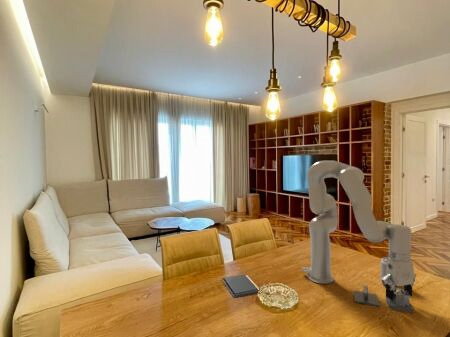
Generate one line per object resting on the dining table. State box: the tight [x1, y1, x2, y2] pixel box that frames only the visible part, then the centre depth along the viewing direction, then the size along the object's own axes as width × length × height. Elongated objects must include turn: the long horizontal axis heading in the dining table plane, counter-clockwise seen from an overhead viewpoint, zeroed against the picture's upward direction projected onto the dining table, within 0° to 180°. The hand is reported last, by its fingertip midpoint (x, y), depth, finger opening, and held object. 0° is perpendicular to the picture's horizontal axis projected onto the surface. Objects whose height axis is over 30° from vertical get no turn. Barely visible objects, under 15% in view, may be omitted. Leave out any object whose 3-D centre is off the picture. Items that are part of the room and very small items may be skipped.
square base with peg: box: [385, 290, 414, 314], centre depth 104 cm, size 8×8×6 cm
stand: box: [353, 285, 380, 308], centre depth 109 cm, size 9×9×6 cm
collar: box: [390, 286, 411, 307], centre depth 104 cm, size 7×7×4 cm
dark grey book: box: [220, 274, 260, 299], centre depth 123 cm, size 20×2×15 cm
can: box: [379, 256, 392, 286], centre depth 122 cm, size 8×8×12 cm
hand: (398, 296), depth 104 cm, fingers open, 9 cm apart
